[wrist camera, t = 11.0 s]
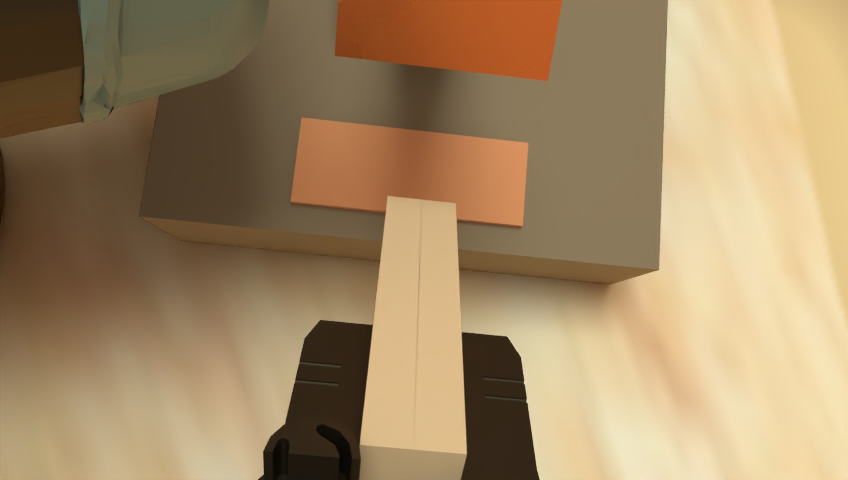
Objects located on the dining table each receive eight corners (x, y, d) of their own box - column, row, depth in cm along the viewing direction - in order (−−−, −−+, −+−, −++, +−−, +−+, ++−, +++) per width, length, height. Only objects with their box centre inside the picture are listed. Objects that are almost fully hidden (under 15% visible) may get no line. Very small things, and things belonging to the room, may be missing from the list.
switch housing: (181, 240, 28) (109, 198, 20) (241, -147, 31) (199, -308, 23) (610, 284, 29) (693, 259, 21) (627, -96, 32) (705, -234, 24)
